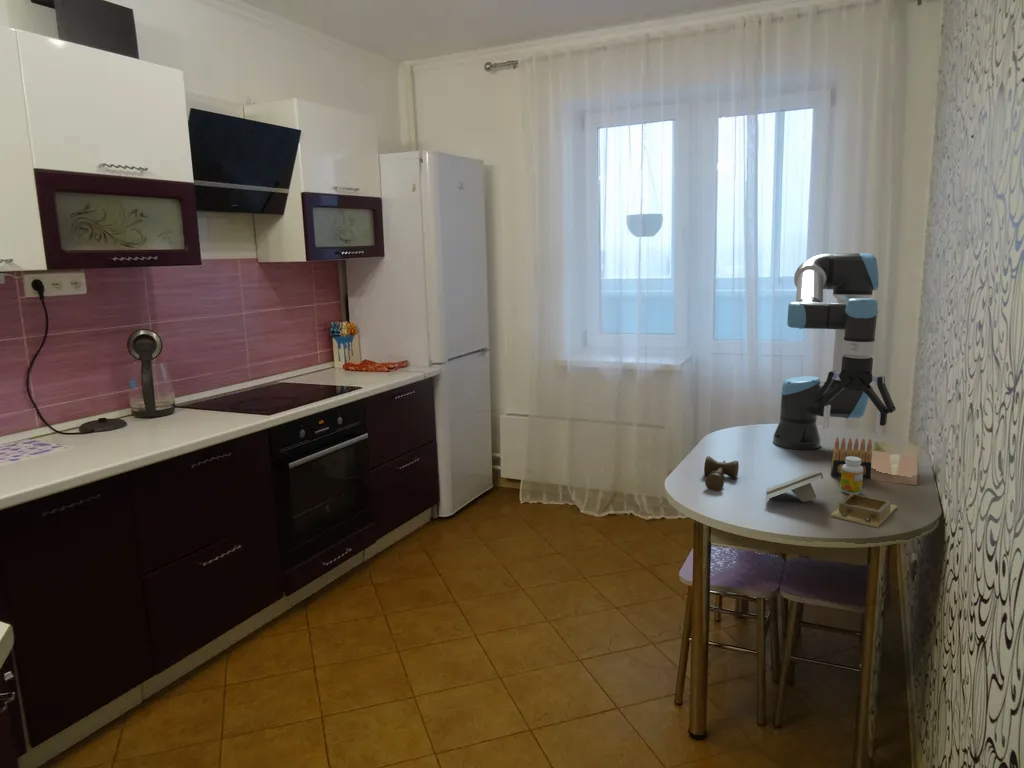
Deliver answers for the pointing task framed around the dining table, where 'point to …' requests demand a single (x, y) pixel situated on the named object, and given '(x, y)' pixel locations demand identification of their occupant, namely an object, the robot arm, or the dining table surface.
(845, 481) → the supplement bottle
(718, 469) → the kendama
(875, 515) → the wooden holder tray
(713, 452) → the dining table surface
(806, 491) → the grey tablet stand
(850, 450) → the ammunition clip
